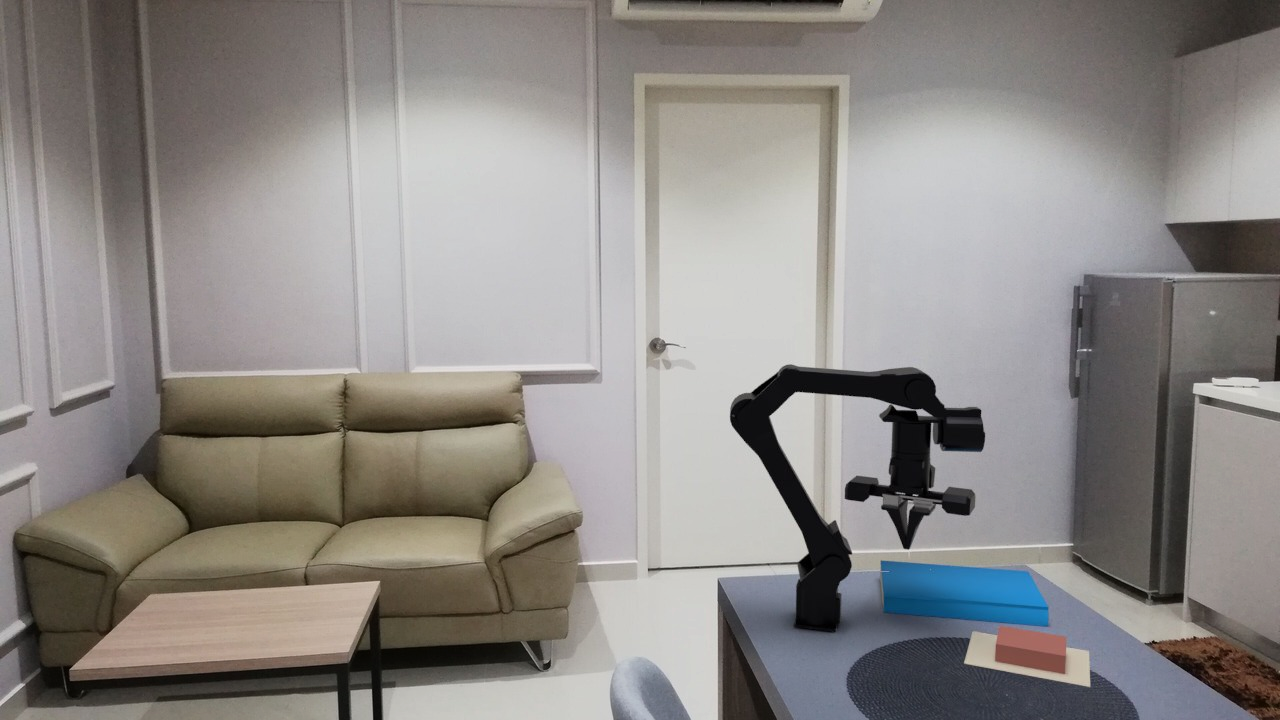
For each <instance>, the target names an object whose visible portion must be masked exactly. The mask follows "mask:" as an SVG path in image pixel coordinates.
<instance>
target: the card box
mask: <svg viewBox="0 0 1280 720" xmlns="http://www.w3.org/2000/svg"><path fill="white" fill-rule="evenodd" d="M997 635H998V636H997V641H996V651H995V661H996V662H1001V663H1007V664H1012V665H1018V666H1023V667H1029V668H1034V669H1040V670H1045V671H1051V672H1056V673H1062V674H1065V665H1066V647H1067V636H1065V635H1060V634H1053V633H1049V632H1048V633H1047V632H1040V631H1034V630H1029V629H1022V628H1017V627H1011V626H1004V625H999V627H998V631H997Z"/></svg>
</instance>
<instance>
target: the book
mask: <svg viewBox="0 0 1280 720" xmlns="http://www.w3.org/2000/svg"><path fill="white" fill-rule="evenodd" d="M930 569H931V570H930ZM880 571H889V572H879V574H880V576H879V577H880V578H879V580H880V581H879V582H880V587H881V600H882V610H883V611H882V612H883V613H892V614H902V615H914V616H923V617H924V616H925V617H937V618H947V619H948V618H949V619H958V620H959V619H962V620H970V621H971V620H972V621H982V622H994V623H1007V624H1017V625H1018V624H1019V625H1027V626H1028V625H1029V626H1043V627H1049V621H1050V620H1049V615H1050V612H1049V606H1048V603H1047V602H1046V600H1045V599H1044V596H1043V595H1042V593H1041V591H1040V589H1039V588H1038V586H1037V583H1036V582H1035V580H1034V578H1033V577H1032V575H1031V573H1030V572H1029V571H1028V570H1013V569H1000V568H988V567H987V568H986V567H975V566H974V567H973V566H961V565H947V564H946V565H945V564H933V563H921V562H907V561H906V562H905V561H895V560H894V561H893V560H882V559H881V560H880Z"/></svg>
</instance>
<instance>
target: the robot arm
mask: <svg viewBox="0 0 1280 720" xmlns="http://www.w3.org/2000/svg"><path fill="white" fill-rule="evenodd" d="M936 387H937V386H936V384H935V380H934V379H933V378H932V377H931V376H930V375H928V374H927V373H926V372H925V371H923V370H921V369H920V368H917V367H913V366H907V367H905V366H904V367H896V368H894V367H893V368H888V369H882V370H874V371H873V370H872V371H865V370H864V371H861V370H850V369H834V368H823V367H822V368H820V367H808V366H798V365H796V364H785V365H783V366H781V368H779V370H778V371H777V372H776V373H774V374H773V375H772V376H770V377H769V378H767V379H766V380H765V381H764V382H762V383H761V384H760V385H758V386H757V387H756V388H754V390H752V391H751V392H744V393H742V394H738V395H737V396H736V397H735V398H734V399H733V401H732V402H731V405H730V410H729V422H730V424H731V427H732V428H733V429H734V430H735V432H736V433H737V434H738V435H739V437H740V438H741V439H742V440H743V442H744V443H745V444H746V445H747V446H748V447H749V449H751V450H752V451H753V452H754V453H755V454H756V455H757V457H758V458H759V459H760V461H761V463H762V465H763V466H764V468H765V470H766V471H767V473H768V475H769V477H770V479H771V481H772V483H773V484H774V485H775V486H774V487H776V489H777V491H778V492H779V495H780V496H781V498H782V500H783V502H784V503H785V505H786V507H787V509H788V510H789V512H790V514H791V516H792V517H793V519H794V521H795V523H796V525H797V526H798V528H799V529H800V531H801V534H802V537H803V539H804V542H805V545H806V549H807V554H806V555H804V557H802V558H801V559H799V561H798V562H797V563H796V566H797V570H798V575H799V576H798V577H799V579H797V582H796V585H795V587H796V588H795V618H794V622H793V627H795V628H801V629H808V630H818V631H824V632H825V631H826V632H836V631H837V629H838V628H837V627H838V625H840V623H841V621H842V620H841V619H842V598H843V597H842V596H843V595H842V593H841V592H839V587H840V583H841V582H843V580H845V579H846V578H847V577H848V576H850V575H849V574H850V573H851V570H852V567H853V566H852V565H853V564H852V560H851V558H850V556H851V555H853V552H852V548H851V546H850V544H849V541H848V539H847V538H846V537H845V536H843V533H841V531H840V528H839V525H838V523H837V520H836V519H834V520H833V521H831V522H830V523H829V524H828V522H827V521H826V520H825V519H824V518H823V517H822V516H821V515H820V513H819V511H818V510H817V508H816V506H815V504H814V502H813V500H812V499H811V497H810V495H809V494H808V492H807V490H806V488H805V487H804V485H803V483H802V482H801V480H800V478H799V476H798V474H797V473H796V471H795V469H794V466H793V465H792V464H791V462H790V460H789V458H788V457H787V455H786V453H785V451H784V449H783V448H782V446H781V444H780V442H779V441H778V438H777V435H776V432H775V429H774V426H773V423H772V419H771V417H770V416H772V415H773V414H774V413H775V412H776V411H778V409H780V408H781V406H783V405H784V404H785V402H786V401H788V400H789V399H790V398H791V397H792V396H793V395H795V393H806V394H816V395H819V394H820V395H830V396H831V395H832V396H846V397H853V398H854V397H856V398H857V397H858V398H868V399H869V398H870V399H873V400H878V401H881V402H884V403H887V404H889V405H888V407H887V408H886V409H885V410H883V411H882V412H881V413H879V415H878V416H879V418H880V419H881V421H882V422H884V423H892V425H891V450H890V451H891V452H890V453H891V455H890V458H889V460H890V461H889V464H888V474H889V476H890V478H889V479H890V484H889V485H887V484H879V478H878V477H870V476H863V475H855V477H853V478H852V479H850V480H849V481H847V483H846V484H845V487H844V500H846V501H851V502H852V501H854V502H860V503H864V502H866V501H867V500H868V499H869V498H870V497H871V496H872V497H877V498H878V497H879V498H882V504H881V506H880V509H881V510H883V511H886V512H887V513H888V515H889V516H888V517H889V518H890V519H891V521H892V523H893V525H894V527H895V530H896V532H897V535H898V538H899V540H900V543H901V545H902V548H903V550H908V551H909V550H910V549H911V547H912V544H913V542H914V539H915V537H916V534H917V531H918V529H919V526H920V524H921V522H922V520H923V519H924V517H925V516H926V517H929V516H931V514H932V513H933V512H934V511H935V509H936V506H937V505H939V506H940V505H941V508H942V509H943V511H944V512H945V513H946V514H950V515H958V516H965V517H966V516H967V517H968V516H971V514H972V512H973V511H974V510H975V508H976V493H975V492H974V491H973V490H972V489H970V488H962V487H953V486H948V487H947V488H946V490H944V492H942V491H935V490H930V489H932V488H934V486H935V478H936V477H935V474H936V467H935V466H933V465H932V464H931V443H932V442H931V441H932V440H933V443H934V445H939V448H940V450H941V451H942V452H959V453H960V452H965V453H966V452H967V453H969V452H970V453H981V452H983V450H984V447H985V444H986V443H985V442H986V432H985V429H984V428H985V427H984V423H983V422H984V421H983V418H982V410H981V408H979V407H978V406H965V407H945V404H944V403H943V402H942V401H941V400H940V399H939V398H938V396H937V395H936V393H937V389H936ZM895 406H898V407H901V408H906V409H896V407H895ZM908 409H909V410H908ZM917 410H922V411H925V412H926V413H927V414H929V416H928V415H919V414H918V412H917ZM931 439H932V440H931ZM908 502H913V503H912V504H913V506H912V507H911V508H910V510H909V512H908V504H909V503H908Z"/></svg>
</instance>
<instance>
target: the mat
mask: <svg viewBox="0 0 1280 720" xmlns="http://www.w3.org/2000/svg"><path fill="white" fill-rule="evenodd" d="M997 636H998V634H992V633H984V632H980V631H972V633H971V636H970V639H969V644H968V647H967V651H966V655H965V659H964V661H963V664H964V665H969V666H974V667H975V666H976V667H981V668H985V669H991V670H997V671H1002V672H1006V673H1012V674H1017V675H1023V676H1028V677H1029V676H1030V677H1033V678H1040V679H1045V680H1050V681H1056V682H1062V683H1064V684H1066V683H1067V684H1071V685H1076V686H1083V687H1087V688H1091V672H1090V671H1091V670H1090V669H1091V667H1090V665H1091V663H1090V651H1089V650H1084V649H1079V648H1073V647H1067V646H1066V665H1065V674H1062V673H1056V672H1051V671H1045V670H1040V669H1034V668H1029V667H1023V666H1018V665H1012V664H1007V663H1001V662H996V661H995V651H996V641H997Z"/></svg>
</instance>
